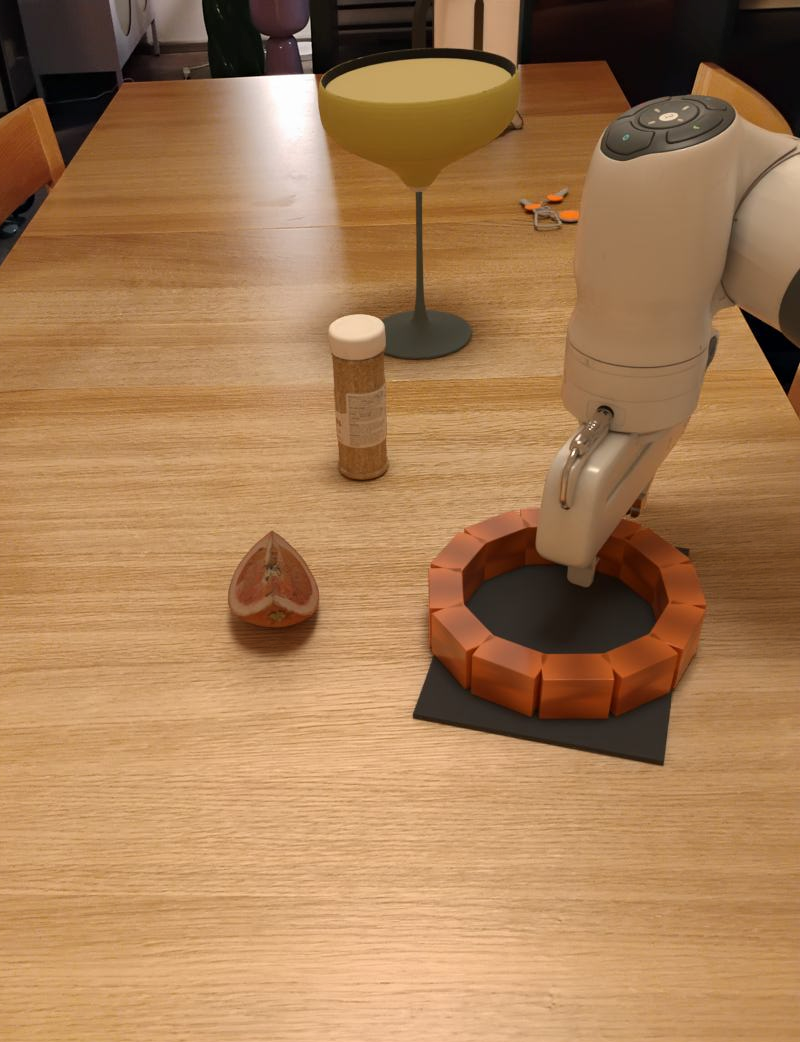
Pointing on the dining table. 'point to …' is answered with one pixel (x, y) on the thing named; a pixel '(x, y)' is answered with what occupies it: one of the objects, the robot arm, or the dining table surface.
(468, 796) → the dining table surface
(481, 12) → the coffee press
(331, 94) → the cocktail glass
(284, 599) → the fruit slice
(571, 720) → the mat
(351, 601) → the dining table surface
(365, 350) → the sprinkles bottle
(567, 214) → the key chain
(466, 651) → the ring
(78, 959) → the dining table surface
